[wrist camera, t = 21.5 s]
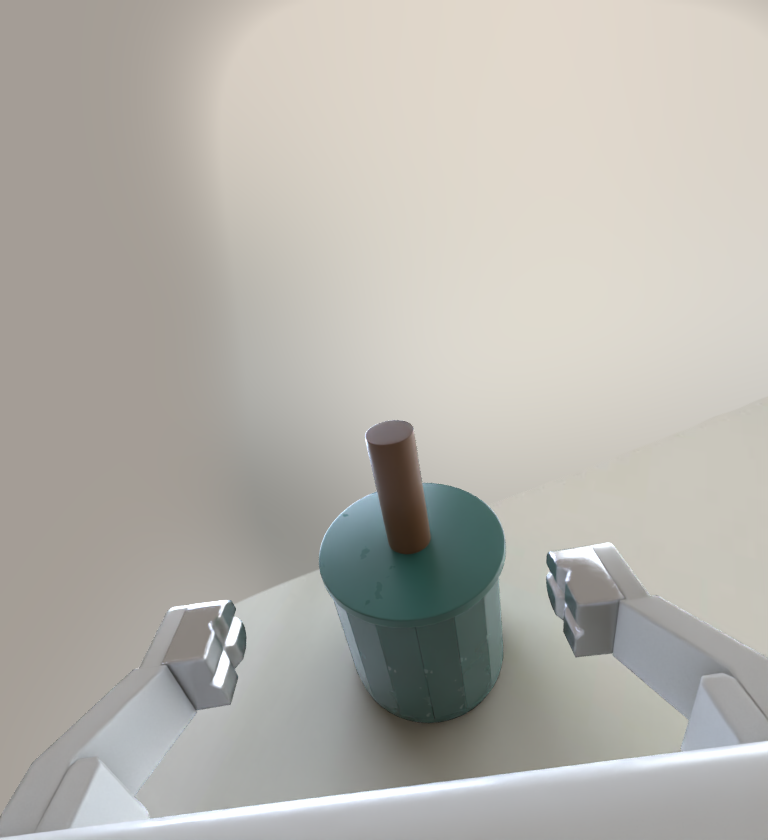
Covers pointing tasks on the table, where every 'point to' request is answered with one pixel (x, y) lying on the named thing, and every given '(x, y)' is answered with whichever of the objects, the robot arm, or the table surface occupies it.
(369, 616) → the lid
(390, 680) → the pot
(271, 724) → the table surface
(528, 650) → the table surface
